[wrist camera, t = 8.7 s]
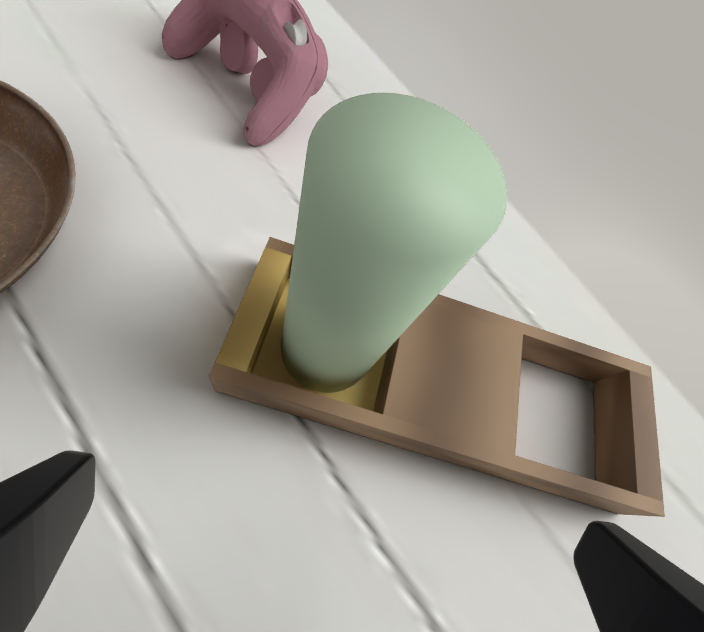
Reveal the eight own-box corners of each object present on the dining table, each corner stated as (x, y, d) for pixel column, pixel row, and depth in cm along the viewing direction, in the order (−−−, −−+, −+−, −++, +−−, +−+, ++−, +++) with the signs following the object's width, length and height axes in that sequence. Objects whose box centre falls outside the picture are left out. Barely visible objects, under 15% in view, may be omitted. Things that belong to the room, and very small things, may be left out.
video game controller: (300, 154, 26) (356, 46, 22) (247, 153, 23) (301, 25, 19) (213, 60, 28) (248, -57, 24) (151, 46, 25) (180, -93, 20)
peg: (316, 411, 18) (397, 298, 7) (262, 334, 19) (263, 128, 8) (389, 359, 20) (545, 204, 9) (337, 290, 21) (420, 73, 10)
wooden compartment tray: (613, 378, 22) (651, 366, 20) (619, 514, 19) (664, 516, 17) (268, 263, 21) (269, 236, 19) (215, 390, 18) (209, 376, 16)
